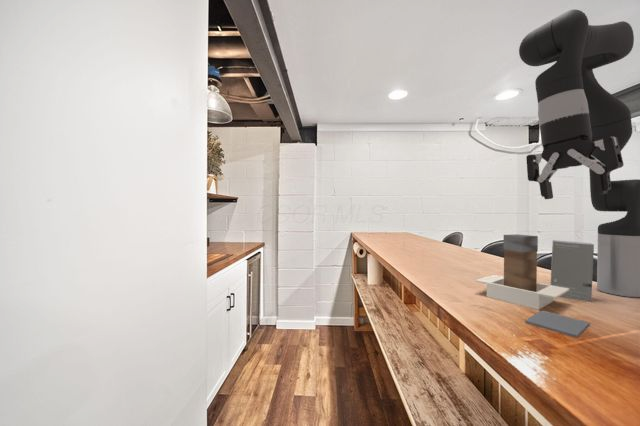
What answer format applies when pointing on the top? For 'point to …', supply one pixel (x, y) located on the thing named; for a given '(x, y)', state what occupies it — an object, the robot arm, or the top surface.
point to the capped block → (520, 261)
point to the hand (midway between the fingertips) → (573, 196)
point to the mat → (558, 323)
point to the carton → (521, 293)
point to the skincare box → (573, 268)
